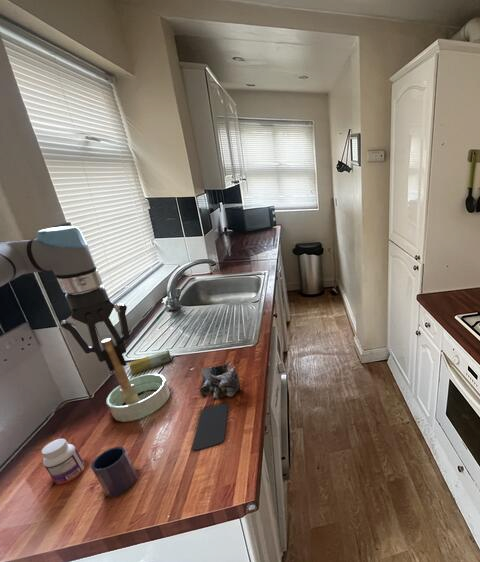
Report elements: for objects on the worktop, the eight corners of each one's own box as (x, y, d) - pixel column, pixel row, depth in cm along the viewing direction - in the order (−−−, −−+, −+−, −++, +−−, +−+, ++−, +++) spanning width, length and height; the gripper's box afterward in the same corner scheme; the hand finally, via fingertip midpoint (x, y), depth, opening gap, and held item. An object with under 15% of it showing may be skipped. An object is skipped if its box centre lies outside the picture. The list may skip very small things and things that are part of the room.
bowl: (101, 425, 86) (93, 409, 84) (134, 390, 99) (127, 375, 97) (153, 421, 87) (147, 405, 85) (179, 386, 100) (174, 372, 98)
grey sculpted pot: (240, 359, 107) (235, 360, 93) (243, 391, 106) (239, 397, 92) (202, 366, 103) (191, 369, 90) (205, 399, 102) (195, 407, 88)
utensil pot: (99, 500, 67) (83, 472, 64) (118, 474, 73) (104, 447, 69) (127, 498, 67) (112, 469, 64) (144, 472, 73) (131, 445, 69)
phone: (228, 402, 92) (224, 442, 79) (229, 404, 92) (224, 444, 79) (201, 409, 90) (191, 451, 77) (202, 411, 90) (192, 453, 77)
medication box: (171, 359, 115) (168, 349, 114) (172, 361, 113) (169, 352, 111) (132, 372, 108) (128, 362, 107) (132, 375, 106) (128, 365, 104)
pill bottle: (63, 469, 74) (45, 440, 71) (90, 461, 76) (74, 432, 72) (50, 490, 70) (30, 460, 66) (79, 481, 71) (62, 451, 68)
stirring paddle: (127, 408, 89) (99, 344, 80) (125, 404, 90) (97, 341, 82) (140, 401, 91) (114, 338, 83) (138, 398, 92) (112, 336, 84)
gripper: (43, 304, 69) (84, 387, 78) (125, 283, 79) (153, 358, 88) (39, 295, 73) (79, 375, 82) (118, 276, 84) (145, 348, 93)
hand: (117, 366), depth 85 cm, fingers closed on stirring paddle, 2 cm apart
